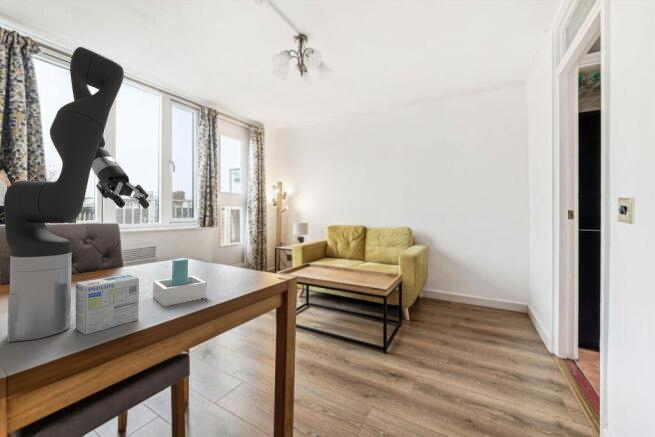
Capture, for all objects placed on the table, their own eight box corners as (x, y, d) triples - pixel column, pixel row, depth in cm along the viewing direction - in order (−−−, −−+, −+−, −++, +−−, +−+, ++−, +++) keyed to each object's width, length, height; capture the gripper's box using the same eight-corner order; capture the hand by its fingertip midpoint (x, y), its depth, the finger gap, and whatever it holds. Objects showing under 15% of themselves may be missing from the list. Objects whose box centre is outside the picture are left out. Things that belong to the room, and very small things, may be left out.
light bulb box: (127, 314, 70) (128, 273, 70) (139, 320, 67) (140, 277, 67) (73, 328, 61) (74, 281, 61) (84, 336, 58) (85, 286, 58)
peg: (174, 300, 82) (174, 261, 82) (169, 297, 85) (170, 259, 85) (189, 297, 85) (190, 260, 85) (184, 294, 88) (185, 258, 88)
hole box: (163, 306, 77) (164, 289, 77) (153, 296, 85) (153, 281, 85) (206, 297, 85) (206, 282, 85) (192, 289, 94) (193, 275, 94)
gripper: (93, 160, 85) (120, 197, 82) (135, 168, 98) (160, 200, 96) (80, 177, 86) (107, 214, 83) (124, 183, 100) (148, 214, 97)
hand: (135, 206), depth 89 cm, fingers open, 8 cm apart
